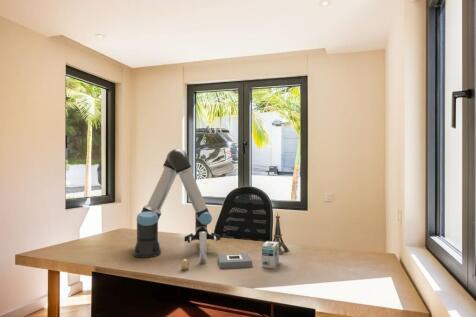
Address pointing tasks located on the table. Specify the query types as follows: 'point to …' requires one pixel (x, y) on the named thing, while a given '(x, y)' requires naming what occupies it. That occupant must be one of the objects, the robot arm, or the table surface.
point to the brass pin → (184, 264)
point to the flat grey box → (234, 260)
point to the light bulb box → (270, 254)
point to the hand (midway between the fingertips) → (203, 241)
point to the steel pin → (202, 247)
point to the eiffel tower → (278, 235)
